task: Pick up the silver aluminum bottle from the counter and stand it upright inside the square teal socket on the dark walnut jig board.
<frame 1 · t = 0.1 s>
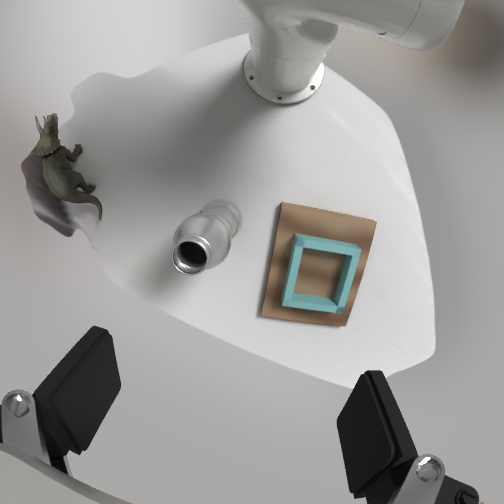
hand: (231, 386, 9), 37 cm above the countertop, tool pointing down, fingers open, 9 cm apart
dinosaur figurine: (80, 172, 43), on the countertop
walnut jig board: (317, 268, 46), on the countertop
silver aluminum bottle: (222, 217, 44), on the countertop
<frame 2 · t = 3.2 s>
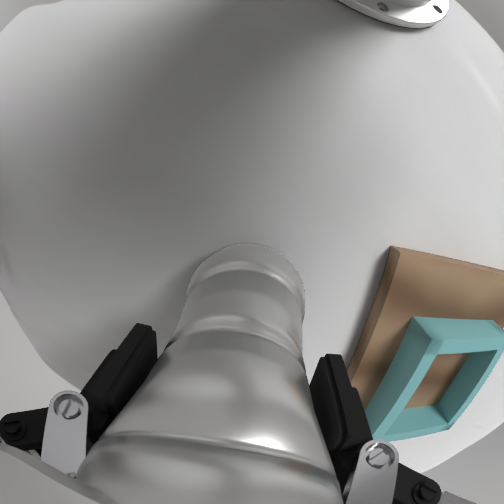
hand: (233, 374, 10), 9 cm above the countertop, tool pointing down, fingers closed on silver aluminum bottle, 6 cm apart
walnut jig board: (424, 364, 20), on the countertop
silver aluminum bottle: (248, 281, 18), on the countertop, touching gripper
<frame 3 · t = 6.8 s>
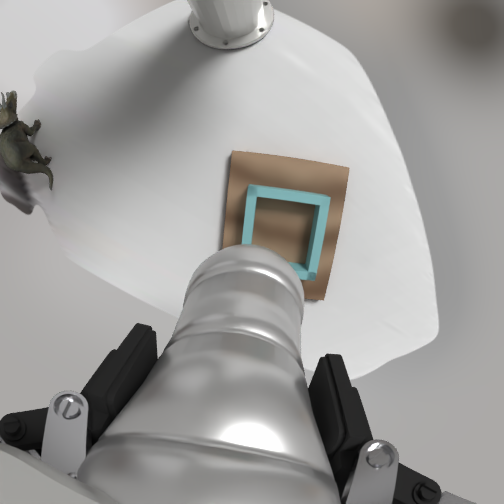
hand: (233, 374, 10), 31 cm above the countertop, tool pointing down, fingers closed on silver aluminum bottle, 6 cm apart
dinosaur figurine: (39, 147, 36), on the countertop
walnut jig board: (281, 227, 39), on the countertop
silver aluminum bottle: (247, 282, 18), point 22 cm above the countertop, touching gripper
when the fingers open (11 cm above the countertop, at t = 10.3 s): silver aluminum bottle drops 1 cm, resting on walnut jig board.
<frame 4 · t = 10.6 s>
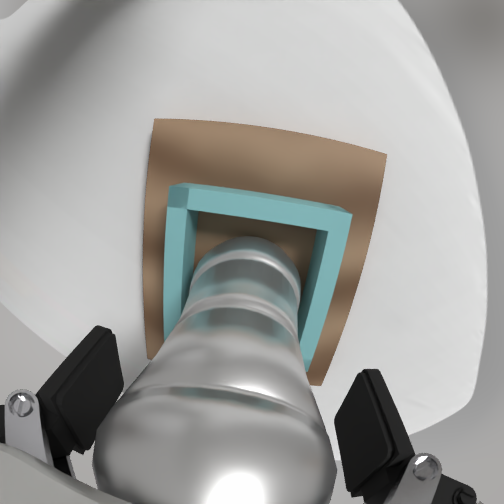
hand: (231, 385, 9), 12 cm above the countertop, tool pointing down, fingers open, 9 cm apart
walnut jig board: (250, 266, 21), on the countertop
silver aluminum bottle: (248, 272, 19), point 1 cm above the countertop, touching walnut jig board
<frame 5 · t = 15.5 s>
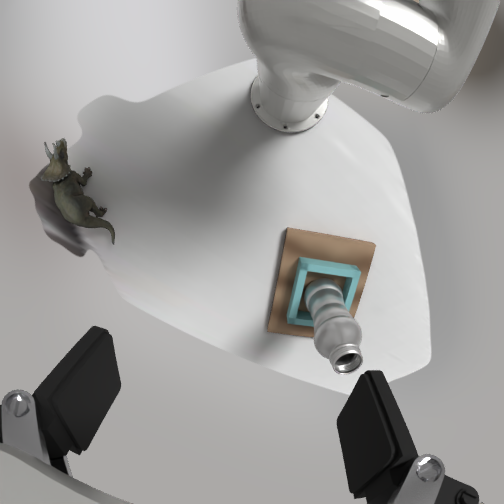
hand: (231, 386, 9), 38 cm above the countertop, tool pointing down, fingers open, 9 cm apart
dinosaur figurine: (91, 195, 46), on the countertop
walnut jig board: (319, 287, 49), on the countertop
silver aluminum bottle: (320, 290, 48), point 1 cm above the countertop, touching walnut jig board
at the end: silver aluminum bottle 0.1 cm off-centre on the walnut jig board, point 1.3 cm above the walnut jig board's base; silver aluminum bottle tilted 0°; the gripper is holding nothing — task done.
